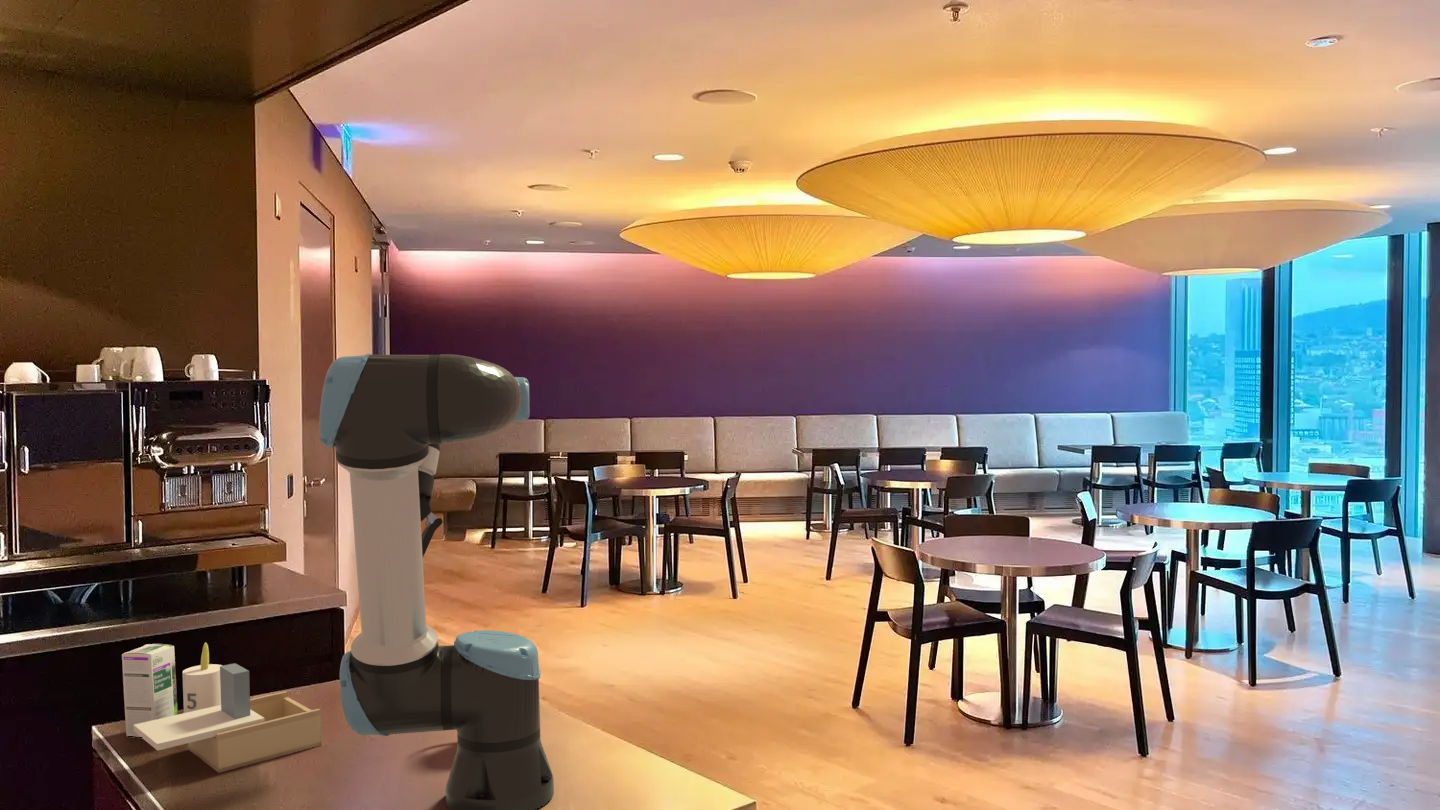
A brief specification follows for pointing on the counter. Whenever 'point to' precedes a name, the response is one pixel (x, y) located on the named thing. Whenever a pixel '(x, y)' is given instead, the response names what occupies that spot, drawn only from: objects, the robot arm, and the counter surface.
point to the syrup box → (149, 684)
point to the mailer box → (263, 735)
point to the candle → (201, 684)
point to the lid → (206, 715)
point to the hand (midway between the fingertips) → (385, 610)
